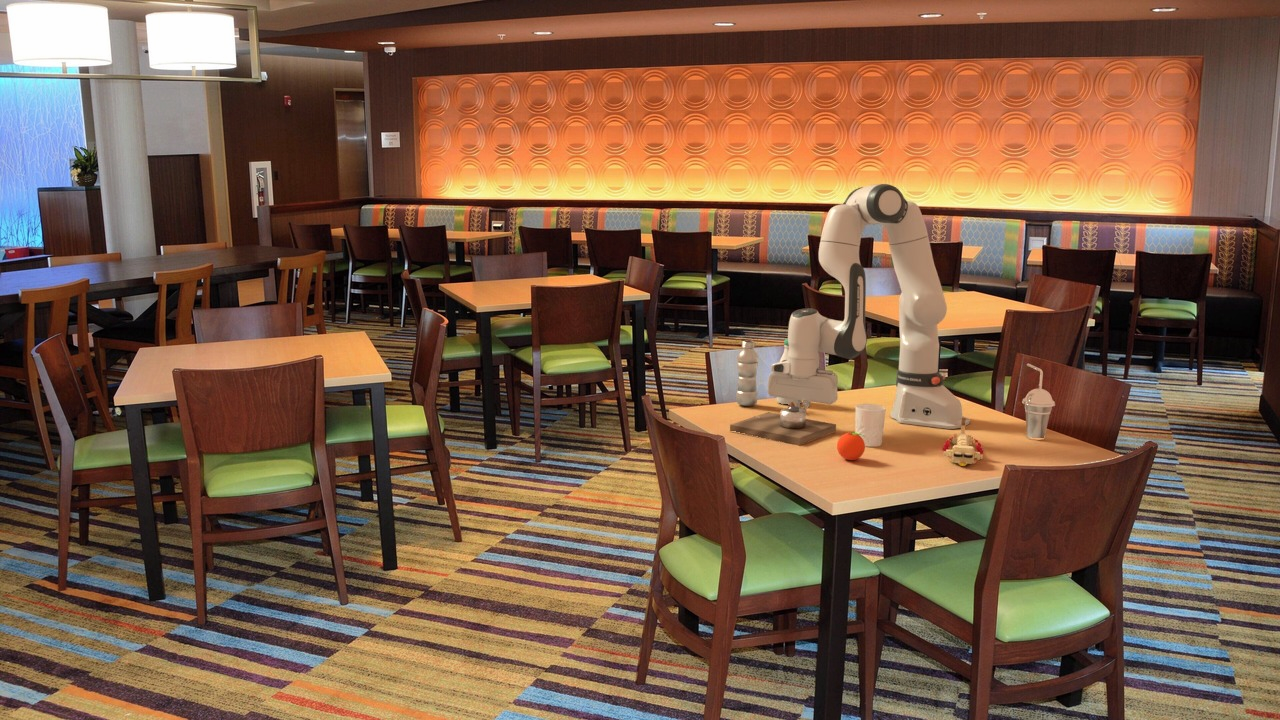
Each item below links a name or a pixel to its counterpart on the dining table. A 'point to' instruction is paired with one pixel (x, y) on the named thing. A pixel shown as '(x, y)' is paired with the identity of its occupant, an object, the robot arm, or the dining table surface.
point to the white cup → (870, 423)
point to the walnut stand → (782, 429)
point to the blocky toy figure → (962, 448)
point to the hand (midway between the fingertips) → (801, 415)
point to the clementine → (851, 446)
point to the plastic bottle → (747, 375)
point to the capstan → (793, 417)
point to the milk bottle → (784, 357)
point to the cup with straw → (1037, 409)
